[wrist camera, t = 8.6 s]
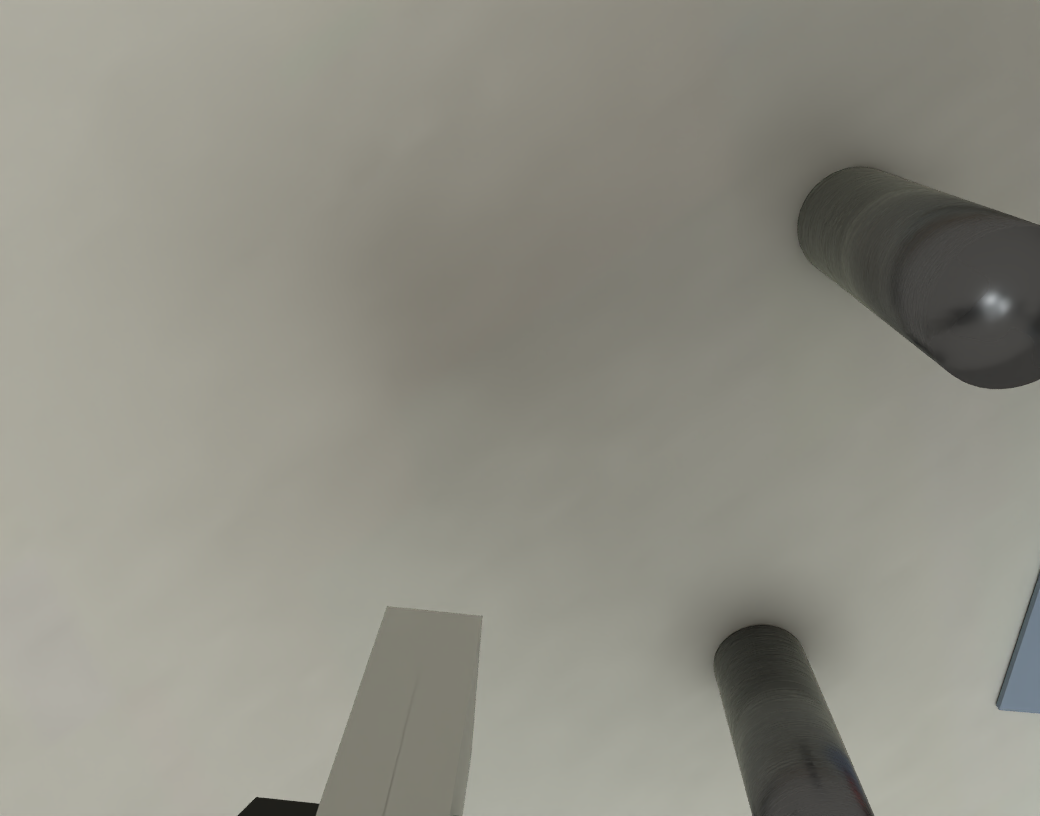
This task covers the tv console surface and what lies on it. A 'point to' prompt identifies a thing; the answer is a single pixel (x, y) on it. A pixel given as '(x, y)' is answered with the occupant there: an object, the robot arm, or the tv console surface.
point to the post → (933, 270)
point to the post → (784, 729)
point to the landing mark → (1024, 665)
